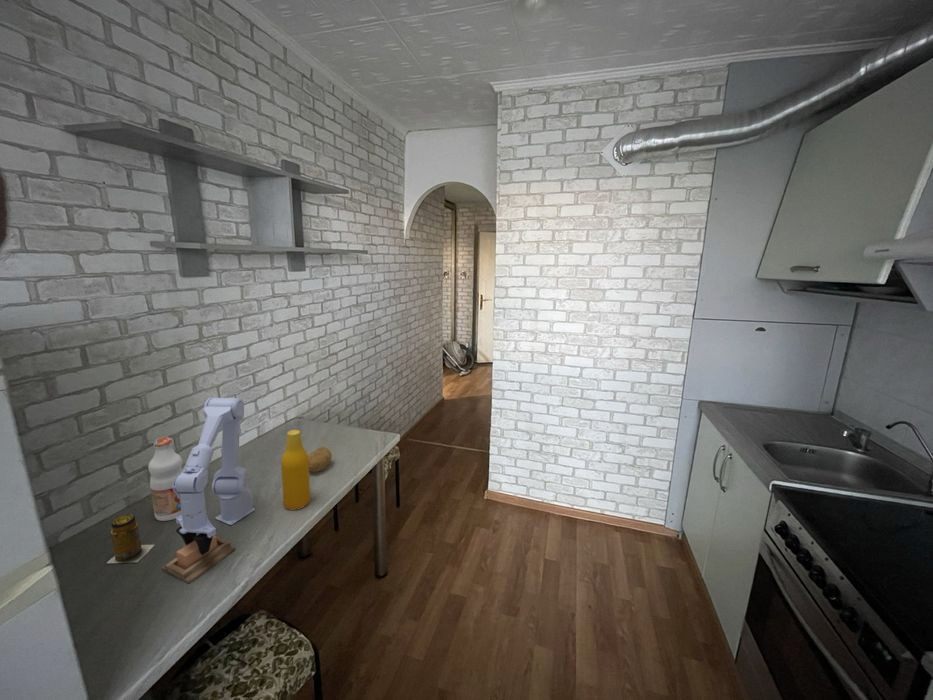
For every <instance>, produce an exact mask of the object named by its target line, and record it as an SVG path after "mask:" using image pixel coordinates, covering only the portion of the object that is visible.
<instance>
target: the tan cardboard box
mask: <svg viewBox="0 0 933 700" xmlns="http://www.w3.org/2000/svg"><path fill="white" fill-rule="evenodd" d="M216 536H217V535H215V536H213V538H212V541H211V545H210V549H209V551H208V552H207V553H205V554H204V555H201V553H200V551H199V547H198V545H197V543H196V542H195V540H194V541H193V542H191V543H190V544H188V545H186V544H185V546H183V547H182V548H181V549H178V550H177V551H176V552H175V553H176V557H177V561H178V567H180V568H182V569H184V570H186V569H187V568H189V567H190V566H192V565H193V564H195V563H196V562H197V561H199V560H200V559H202V558H203V557H205V556H206V555H208V554H209V553H210V552H212V551H213V550H215V549H216V548H217V539H216Z"/></svg>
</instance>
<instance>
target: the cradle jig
mask: <svg viewBox="0 0 933 700" xmlns="http://www.w3.org/2000/svg"><path fill="white" fill-rule="evenodd" d="M214 536H216V539H217V548H216V549H215V550H213V551H212V552H210V553H209V554H208V555H206V556H205V557H203V558H202V559H200V560H199V561H197V562H196V563H195V564H193V565H192V566H190V567H189V568H187V569H186V570H184V569H182V568H180V567H178V561H177V556H176V557H175V558H172V560H170V561H168V562H167V563H165V564H164V565H162V566H160V568H161V571H163V572H165V573H167V574H169V575H171V576H172V577H174V578H177V579H179V580H181V581H182V582H184V583H186V584H188V585H190V584H191V583H193V582H194V581H195V580H197V579H198V578H199V577H201V576H202V575H204V574H206V572H208V571H209V570H210V569H212V568H213V567H215V566H216V565H217V564H219V563H220V562H221V561H223V560H224V559H225V558H227V557H228V556H230V555H231V554H232V553H234V552H235V551H236V548H235V547H234V546H231V542H230V541H228V540H226V539H225V538H222V537H220V536H217V535H216V534H215V535H214Z"/></svg>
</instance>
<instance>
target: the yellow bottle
mask: <svg viewBox="0 0 933 700" xmlns="http://www.w3.org/2000/svg"><path fill="white" fill-rule="evenodd" d="M308 455H309V454H308V453H307V451H306V450H305V448H304V446H303V441H302V436H301V430H298V429H291V430H289V431H288V432H287V434H286V446H285V450H284V452H283V454H282V457H281V461H280V462H281V463H280V465H281V466H280V467H281V479H282V480H281V482H282V502H283V507H284V509H286V508H287V509H286V510H288V509H298V508H301V507H303V506H305V505H306V504H308V505H309V503H310V500H311V493H310V492H311V491H310V471H309V460H308ZM308 502H309V503H308ZM305 507H306V506H305ZM301 509H302V508H301ZM298 510H299V509H298Z"/></svg>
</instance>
